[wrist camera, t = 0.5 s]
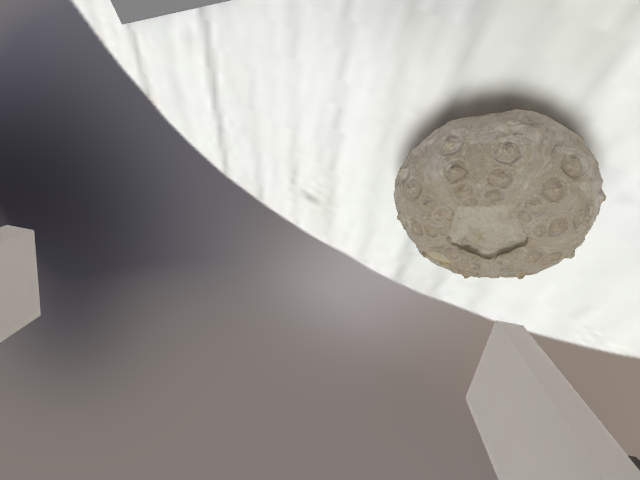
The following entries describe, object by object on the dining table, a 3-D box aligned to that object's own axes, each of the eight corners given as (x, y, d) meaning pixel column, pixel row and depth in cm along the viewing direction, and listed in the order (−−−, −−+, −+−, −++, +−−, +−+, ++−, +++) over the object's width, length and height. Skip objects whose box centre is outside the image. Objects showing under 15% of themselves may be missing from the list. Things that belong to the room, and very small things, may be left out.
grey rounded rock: (525, 263, 45) (523, 330, 38) (385, 205, 47) (360, 259, 41) (647, 133, 32) (676, 201, 25) (445, 62, 34) (423, 107, 28)
